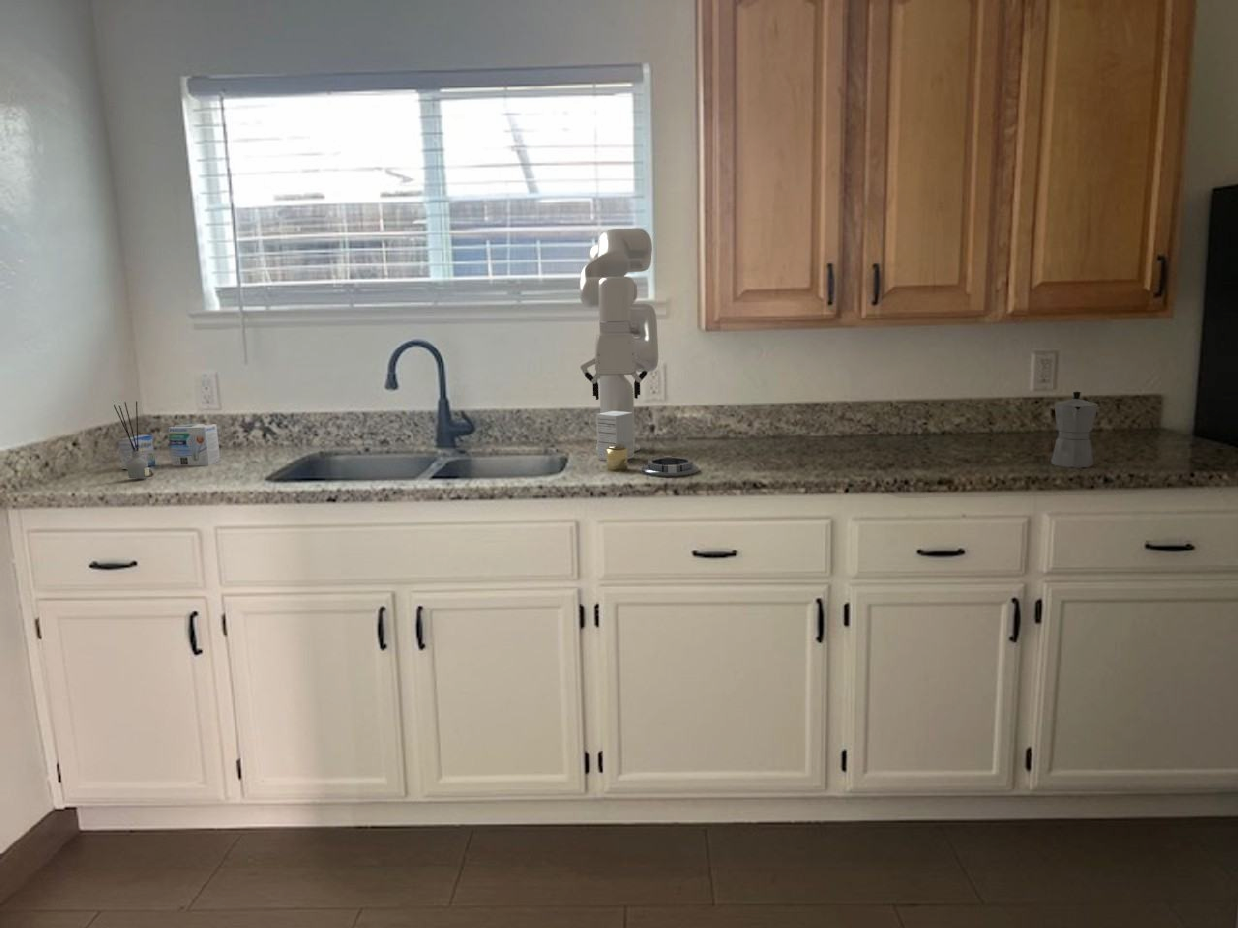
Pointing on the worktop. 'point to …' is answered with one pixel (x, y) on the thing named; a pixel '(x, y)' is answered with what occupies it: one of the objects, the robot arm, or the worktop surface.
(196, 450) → the light bulb box
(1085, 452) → the coffeepot
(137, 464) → the reed diffuser
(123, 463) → the medicine box
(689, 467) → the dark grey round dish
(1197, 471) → the worktop surface
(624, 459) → the brass lock cylinder
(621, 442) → the supplement box
